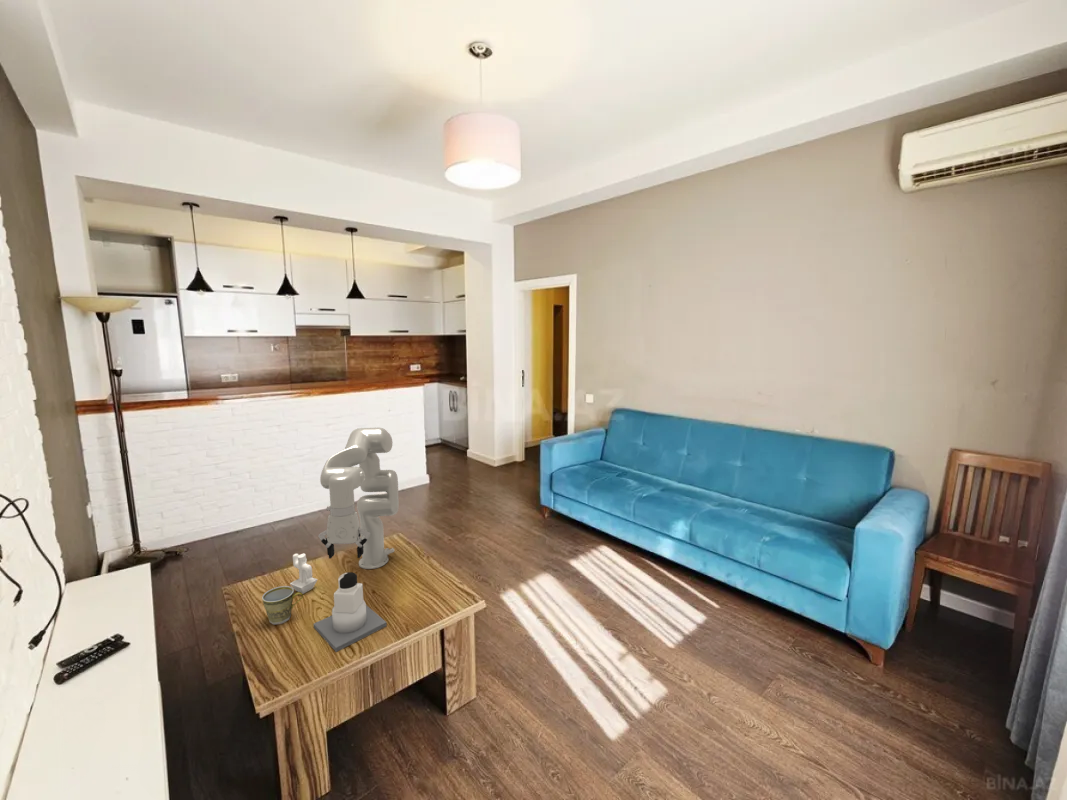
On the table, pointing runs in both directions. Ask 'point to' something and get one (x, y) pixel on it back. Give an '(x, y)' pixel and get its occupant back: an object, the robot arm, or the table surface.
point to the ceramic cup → (279, 603)
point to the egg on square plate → (349, 626)
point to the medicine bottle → (348, 594)
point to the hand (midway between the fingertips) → (345, 556)
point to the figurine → (303, 574)
